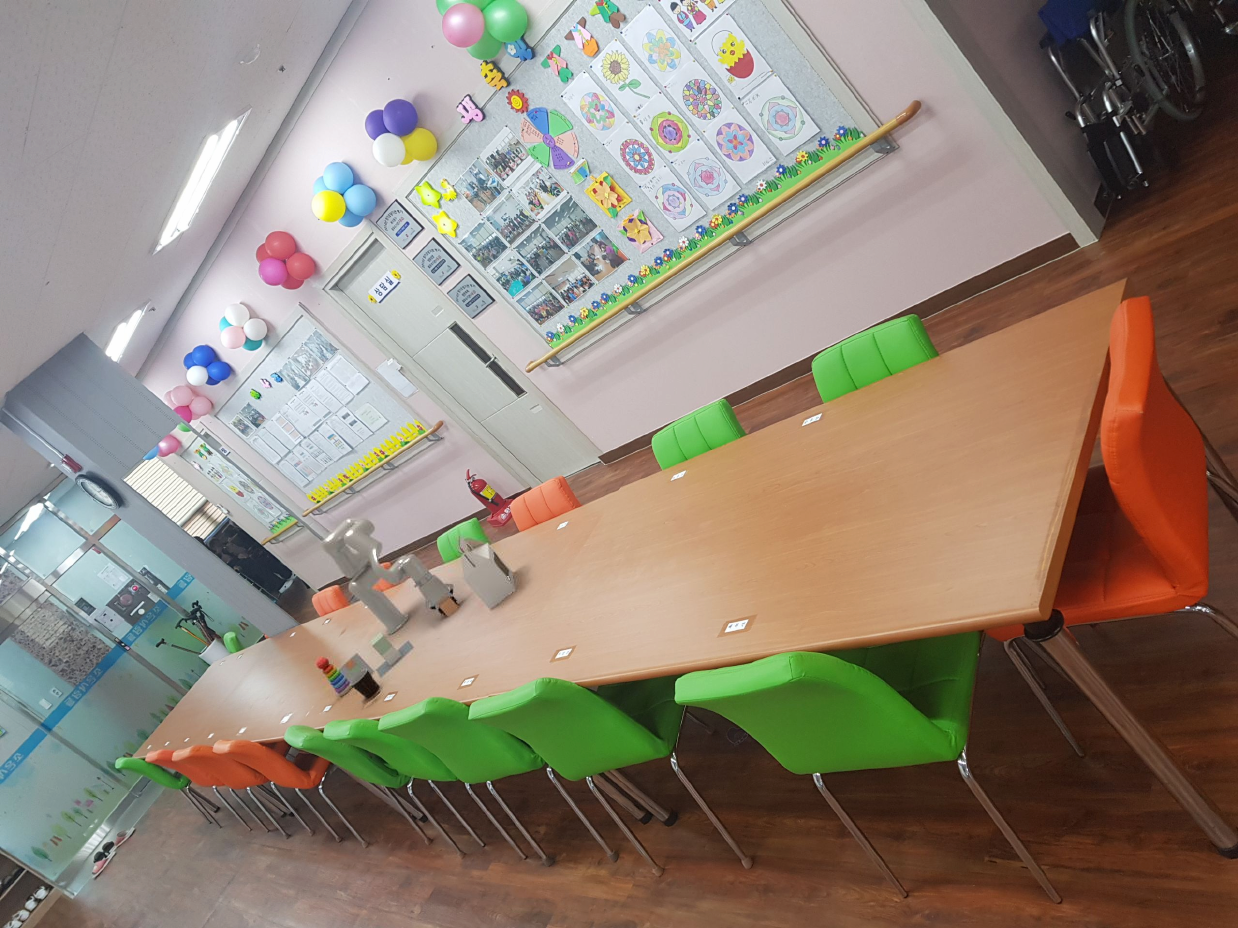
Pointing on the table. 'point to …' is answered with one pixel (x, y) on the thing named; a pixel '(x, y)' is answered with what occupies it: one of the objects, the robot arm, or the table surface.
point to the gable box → (485, 571)
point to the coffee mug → (365, 684)
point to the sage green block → (381, 643)
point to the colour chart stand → (354, 667)
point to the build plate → (386, 667)
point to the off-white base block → (391, 655)
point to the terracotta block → (447, 605)
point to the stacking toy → (334, 677)
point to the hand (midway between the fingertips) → (450, 608)
